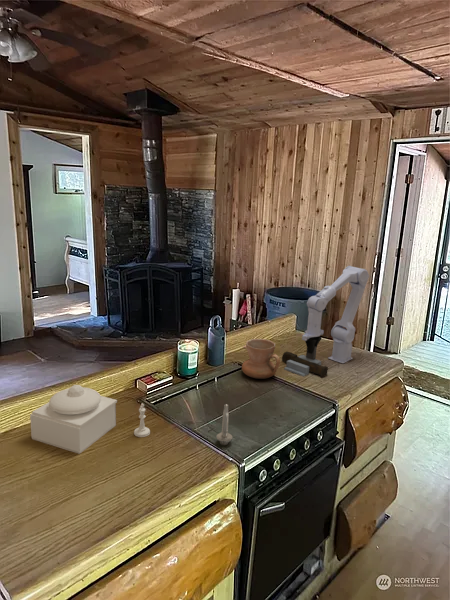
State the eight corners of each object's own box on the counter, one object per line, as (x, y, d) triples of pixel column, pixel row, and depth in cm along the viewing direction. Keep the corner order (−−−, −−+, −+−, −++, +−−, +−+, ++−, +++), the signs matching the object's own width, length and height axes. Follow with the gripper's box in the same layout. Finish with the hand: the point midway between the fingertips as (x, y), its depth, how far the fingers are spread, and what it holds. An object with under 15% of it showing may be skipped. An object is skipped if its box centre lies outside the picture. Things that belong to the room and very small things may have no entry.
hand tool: (328, 376, 188) (329, 363, 186) (321, 378, 184) (323, 366, 183) (286, 360, 203) (287, 348, 202) (279, 362, 200) (280, 351, 199)
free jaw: (301, 361, 201) (303, 342, 199) (320, 368, 195) (322, 348, 192) (296, 364, 198) (298, 344, 196) (315, 370, 192) (317, 350, 189)
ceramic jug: (232, 373, 184) (233, 341, 181) (252, 364, 195) (254, 334, 191) (267, 387, 173) (269, 353, 170) (286, 377, 184) (289, 345, 180)
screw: (215, 438, 135) (230, 438, 136) (217, 447, 130) (233, 446, 131) (217, 400, 132) (232, 399, 133) (219, 408, 127) (235, 407, 128)
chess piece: (152, 430, 138) (153, 401, 135) (145, 438, 133) (145, 408, 131) (139, 427, 139) (139, 398, 137) (130, 435, 135) (130, 405, 132)
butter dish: (31, 439, 130) (28, 390, 126) (72, 413, 146) (71, 368, 143) (79, 454, 124) (78, 403, 120) (117, 425, 140) (116, 379, 136)
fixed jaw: (289, 366, 195) (290, 359, 194) (309, 373, 188) (309, 366, 187) (284, 369, 192) (284, 361, 191) (303, 376, 185) (304, 368, 184)
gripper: (315, 318, 200) (312, 346, 204) (297, 324, 190) (294, 353, 193) (328, 322, 196) (325, 350, 199) (311, 328, 185) (308, 358, 189)
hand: (311, 352), depth 196 cm, fingers closed on free jaw, 2 cm apart
